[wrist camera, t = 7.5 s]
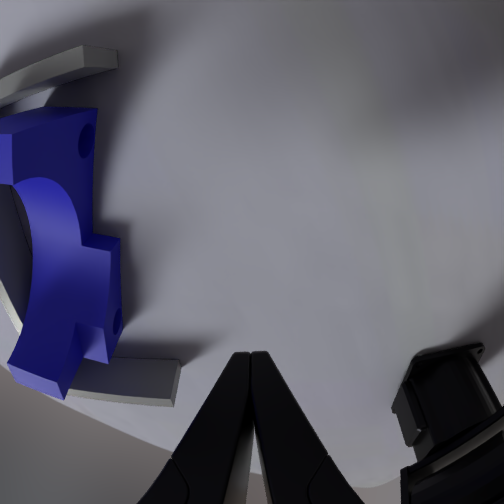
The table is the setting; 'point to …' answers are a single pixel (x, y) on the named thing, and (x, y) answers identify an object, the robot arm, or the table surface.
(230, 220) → the table surface
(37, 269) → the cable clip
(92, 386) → the grey u-shaped bracket
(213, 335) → the table surface
